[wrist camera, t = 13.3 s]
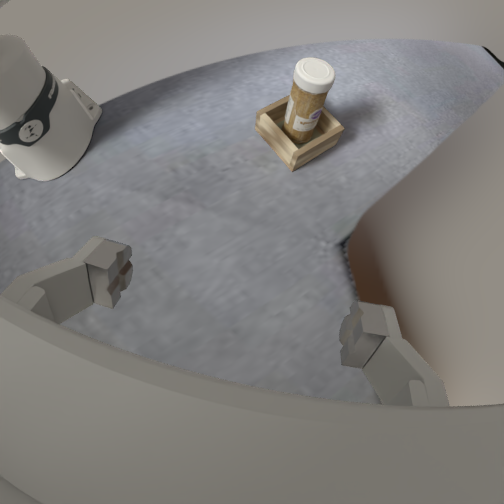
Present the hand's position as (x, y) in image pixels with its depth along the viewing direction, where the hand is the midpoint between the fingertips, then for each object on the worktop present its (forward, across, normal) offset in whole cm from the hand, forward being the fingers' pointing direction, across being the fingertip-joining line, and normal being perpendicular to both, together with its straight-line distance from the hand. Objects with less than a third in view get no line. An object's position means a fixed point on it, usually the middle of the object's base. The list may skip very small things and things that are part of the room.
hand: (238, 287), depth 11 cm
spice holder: (+37, -2, +2) cm, 38 cm away
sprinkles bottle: (+37, -2, +1) cm, 37 cm away
